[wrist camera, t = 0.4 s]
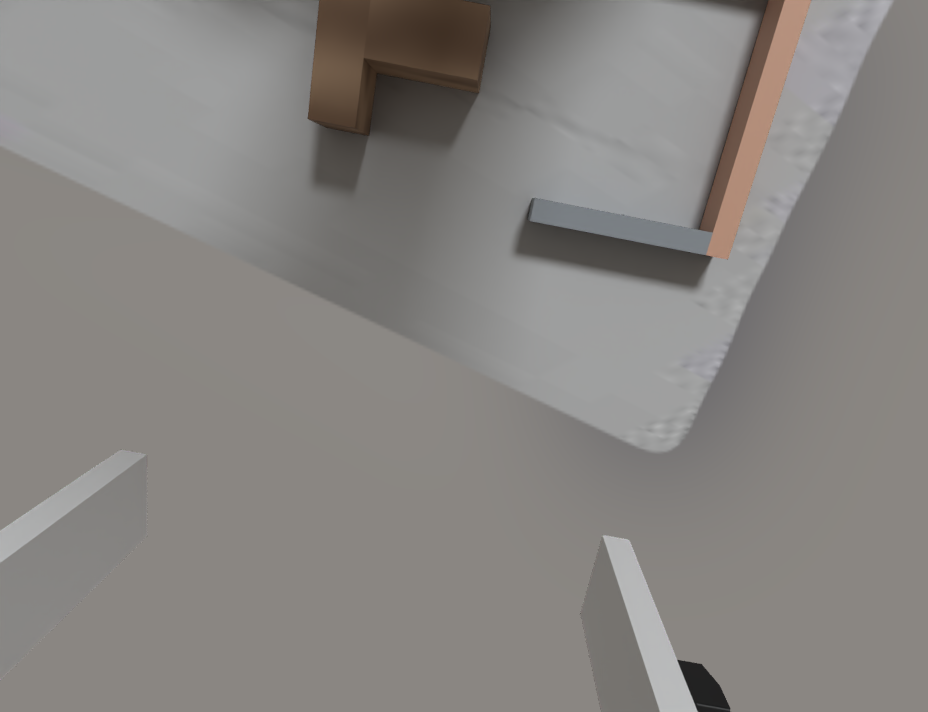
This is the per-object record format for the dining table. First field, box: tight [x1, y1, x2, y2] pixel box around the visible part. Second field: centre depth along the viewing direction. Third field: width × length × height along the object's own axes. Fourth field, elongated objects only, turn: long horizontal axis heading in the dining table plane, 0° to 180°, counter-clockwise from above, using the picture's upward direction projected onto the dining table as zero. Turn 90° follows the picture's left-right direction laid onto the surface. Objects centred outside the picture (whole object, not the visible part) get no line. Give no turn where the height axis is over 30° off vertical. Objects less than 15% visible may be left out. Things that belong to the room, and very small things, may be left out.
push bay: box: [528, 0, 811, 259], centre depth 35 cm, size 19×14×2 cm
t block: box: [308, 0, 491, 136], centre depth 34 cm, size 12×10×4 cm
